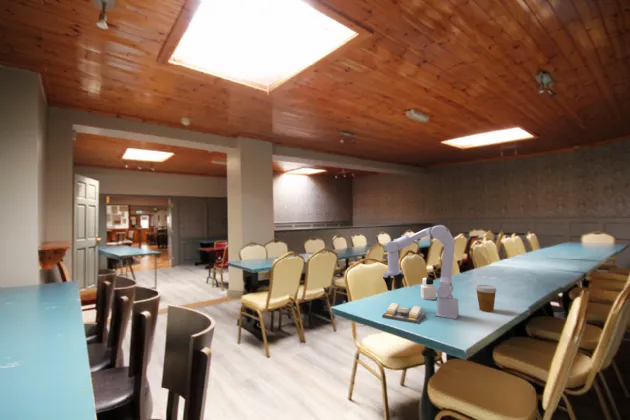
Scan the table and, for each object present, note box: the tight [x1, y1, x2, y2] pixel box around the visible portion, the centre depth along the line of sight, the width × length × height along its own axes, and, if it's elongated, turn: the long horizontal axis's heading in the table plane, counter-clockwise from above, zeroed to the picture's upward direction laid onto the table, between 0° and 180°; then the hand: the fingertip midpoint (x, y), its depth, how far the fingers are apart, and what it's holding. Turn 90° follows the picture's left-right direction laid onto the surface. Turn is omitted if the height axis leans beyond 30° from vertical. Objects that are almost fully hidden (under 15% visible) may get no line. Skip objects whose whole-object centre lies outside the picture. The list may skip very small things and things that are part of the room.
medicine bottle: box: [420, 276, 437, 301], centre depth 184 cm, size 7×7×12 cm
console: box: [381, 309, 426, 325], centre depth 151 cm, size 17×13×2 cm
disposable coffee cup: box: [475, 284, 497, 313], centre depth 159 cm, size 10×10×12 cm
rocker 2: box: [397, 307, 411, 313], centre depth 151 cm, size 4×8×2 cm, turn 146°
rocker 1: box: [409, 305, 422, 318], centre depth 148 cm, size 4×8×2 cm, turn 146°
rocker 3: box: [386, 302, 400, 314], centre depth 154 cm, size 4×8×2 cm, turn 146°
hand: (393, 289), depth 166 cm, fingers open, 7 cm apart
